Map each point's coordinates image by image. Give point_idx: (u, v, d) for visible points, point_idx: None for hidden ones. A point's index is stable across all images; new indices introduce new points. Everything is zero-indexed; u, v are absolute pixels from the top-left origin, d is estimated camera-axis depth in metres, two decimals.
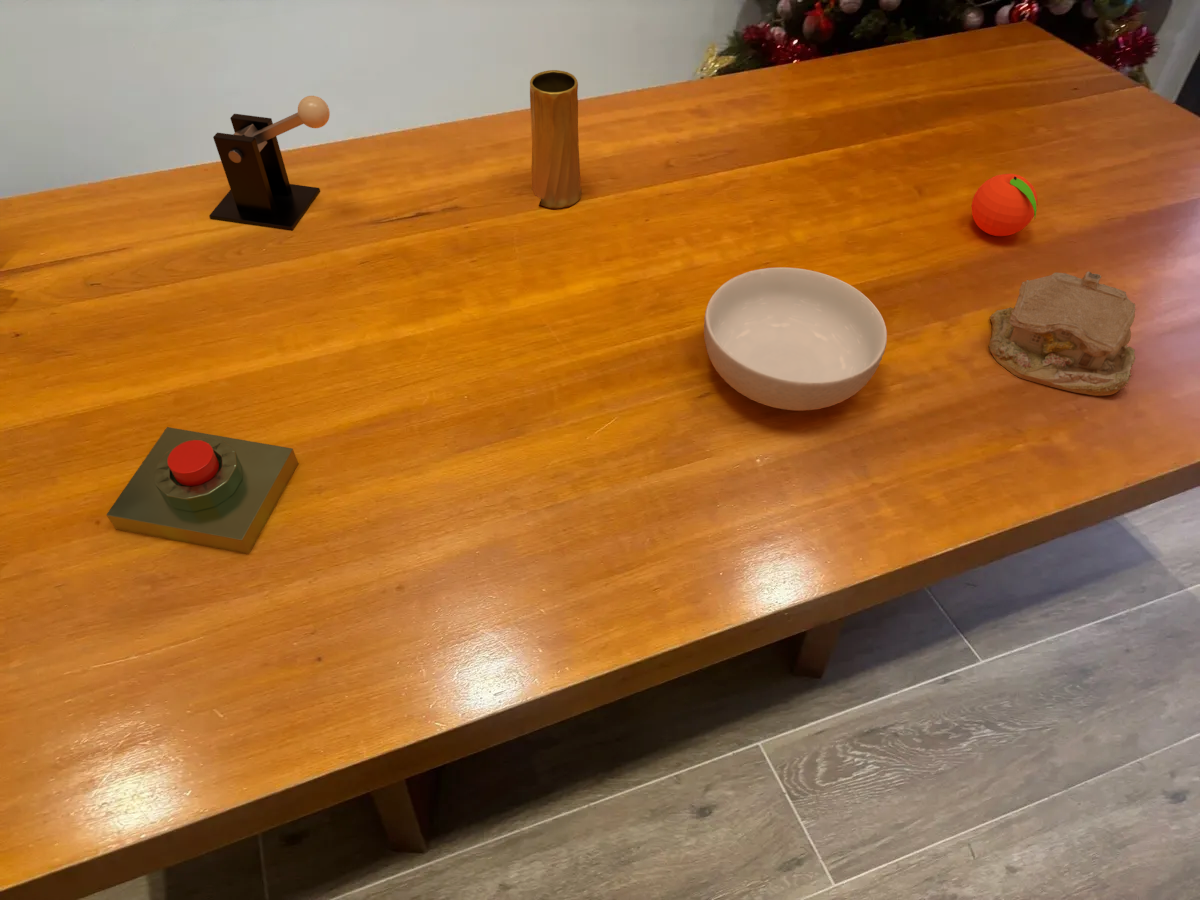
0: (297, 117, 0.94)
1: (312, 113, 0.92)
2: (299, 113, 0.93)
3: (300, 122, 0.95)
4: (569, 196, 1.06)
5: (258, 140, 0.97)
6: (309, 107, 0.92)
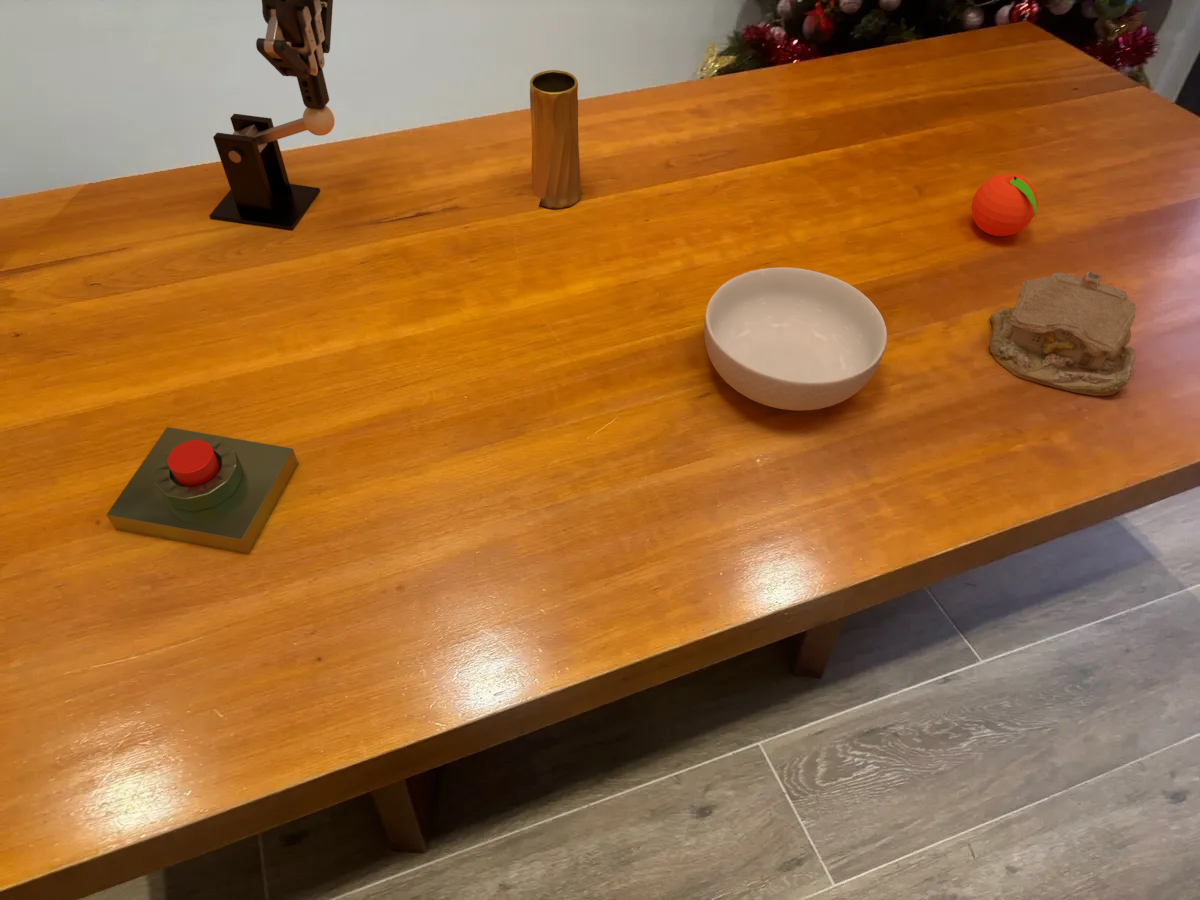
0: (301, 123, 0.95)
1: (317, 121, 0.93)
2: (304, 120, 0.93)
3: (304, 128, 0.95)
4: (569, 196, 1.06)
5: (259, 141, 0.97)
6: (315, 115, 0.93)
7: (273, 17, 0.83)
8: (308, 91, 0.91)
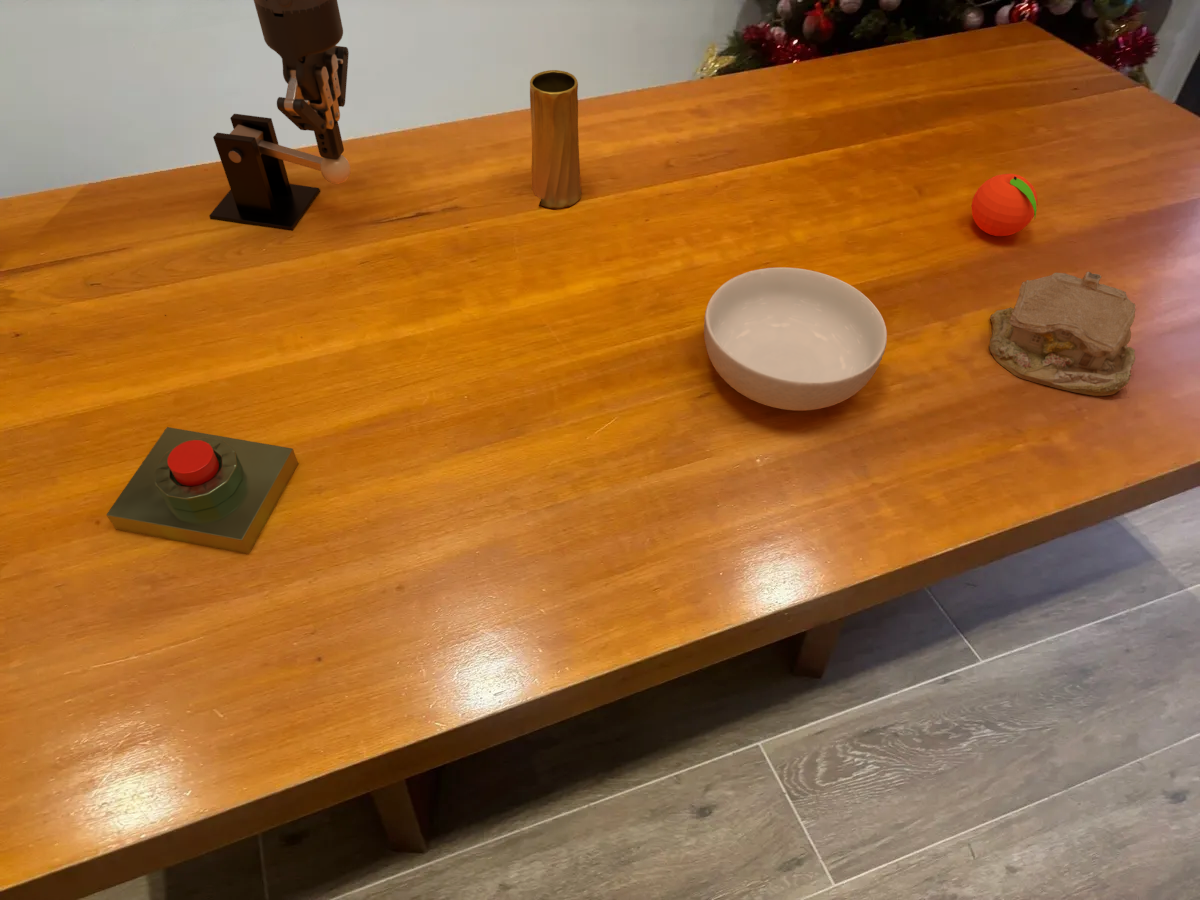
0: (318, 164, 0.98)
1: (337, 174, 0.98)
2: (325, 166, 0.97)
3: (317, 168, 0.99)
4: (569, 196, 1.06)
5: (262, 151, 0.98)
6: (338, 169, 0.97)
7: (293, 77, 0.87)
8: (324, 143, 0.95)
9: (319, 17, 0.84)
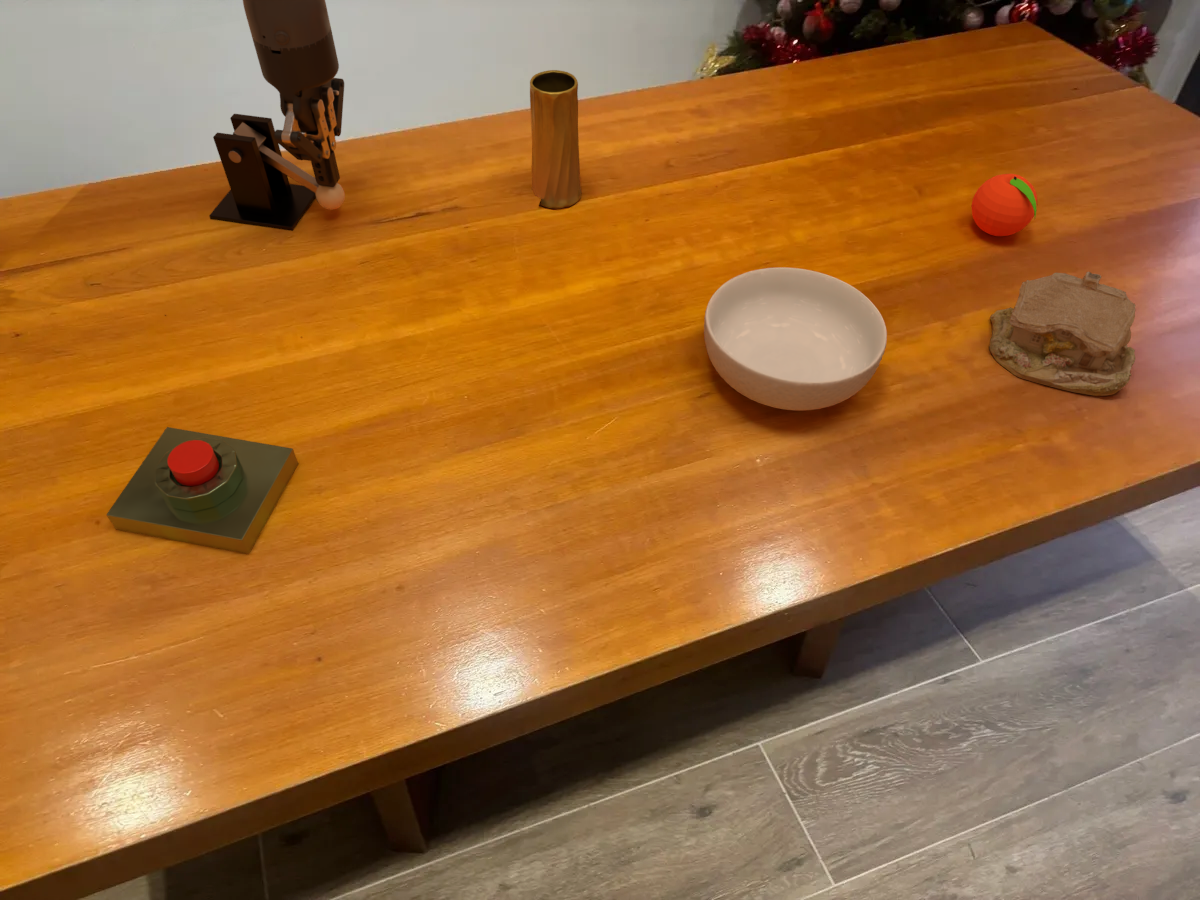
0: (315, 186, 1.00)
1: (333, 203, 1.01)
2: (322, 192, 1.00)
3: (312, 189, 1.01)
4: (569, 196, 1.06)
5: (261, 156, 0.99)
6: (335, 199, 1.01)
7: (290, 111, 0.90)
8: (321, 172, 0.98)
9: (315, 53, 0.87)
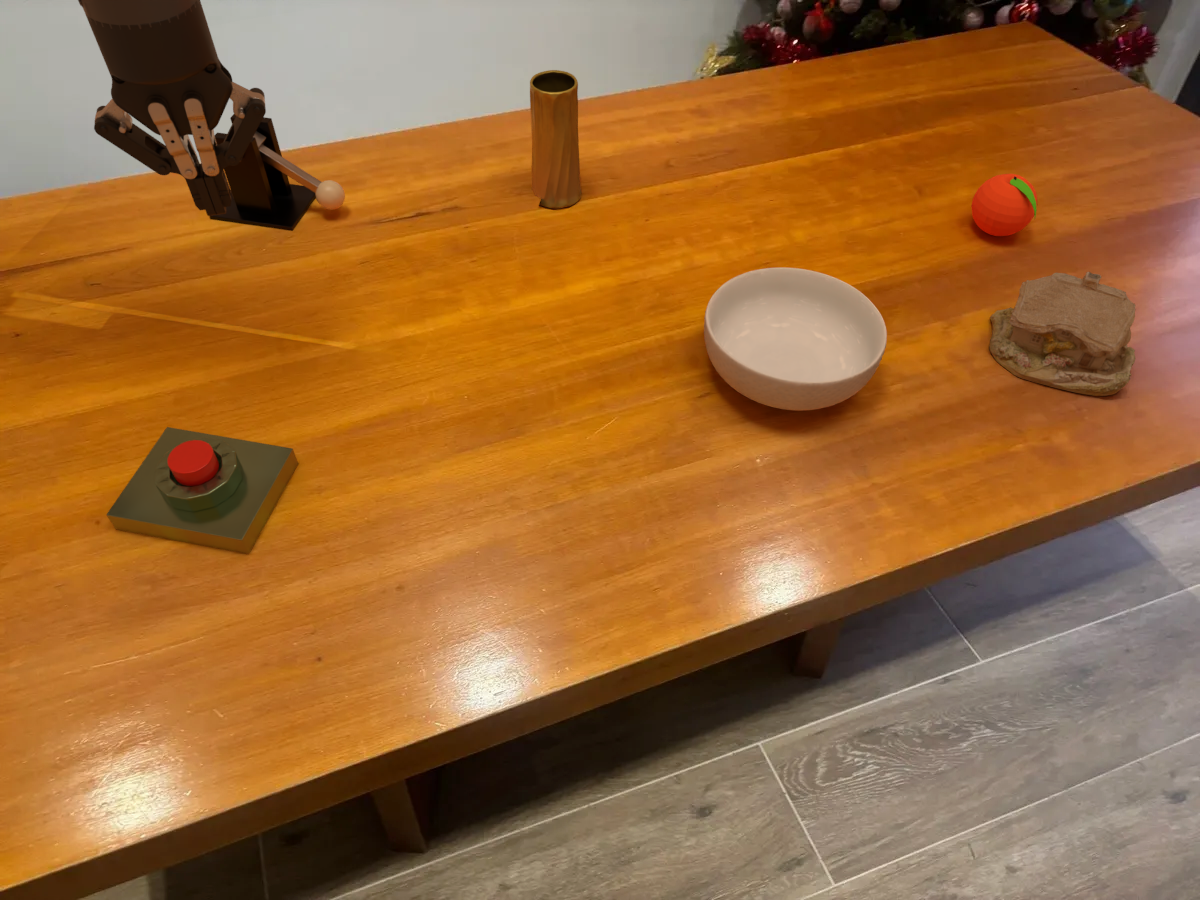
0: (315, 186, 1.00)
1: (333, 203, 1.01)
2: (322, 192, 1.00)
3: (312, 189, 1.01)
4: (569, 196, 1.06)
5: (261, 156, 0.99)
6: (335, 199, 1.01)
7: None
8: None
9: (115, 39, 0.61)
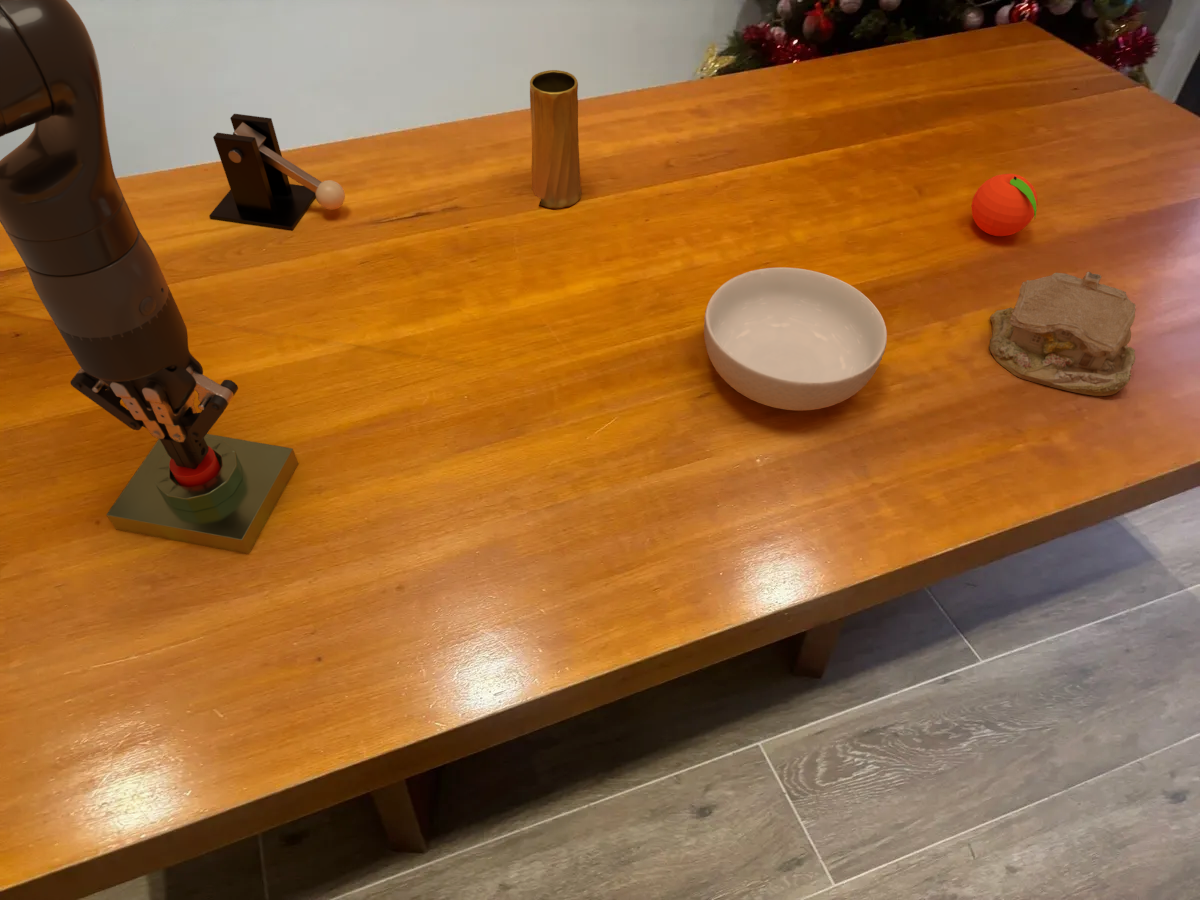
0: (315, 186, 1.00)
1: (333, 203, 1.01)
2: (322, 192, 1.00)
3: (312, 189, 1.01)
4: (569, 196, 1.06)
5: (261, 156, 0.99)
6: (335, 199, 1.01)
7: None
8: None
9: (66, 338, 0.61)
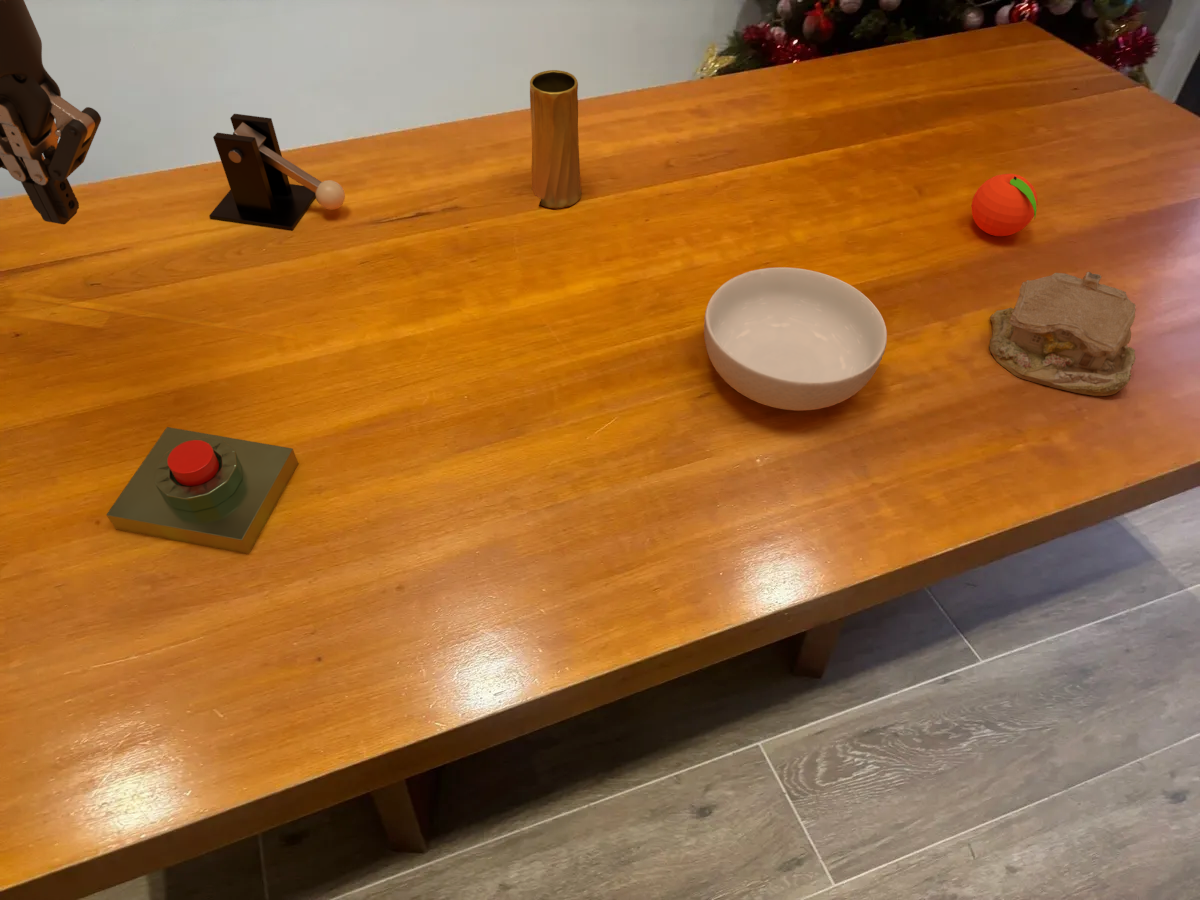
0: (315, 186, 1.00)
1: (333, 203, 1.01)
2: (322, 192, 1.00)
3: (312, 189, 1.01)
4: (569, 196, 1.06)
5: (261, 156, 0.99)
6: (335, 199, 1.01)
7: None
8: None
9: None
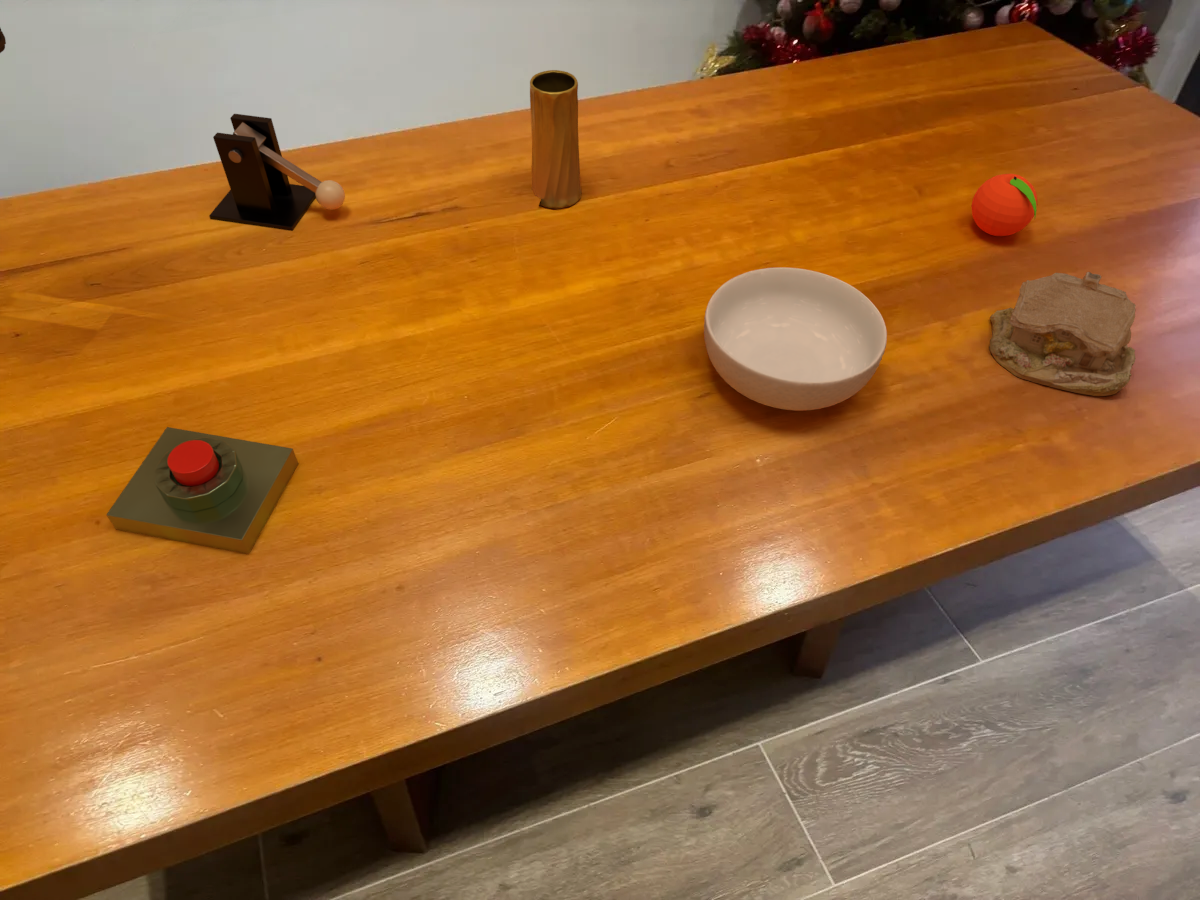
0: (315, 186, 1.00)
1: (333, 203, 1.01)
2: (322, 192, 1.00)
3: (312, 189, 1.01)
4: (569, 196, 1.06)
5: (261, 156, 0.99)
6: (335, 199, 1.01)
7: None
8: None
9: None
